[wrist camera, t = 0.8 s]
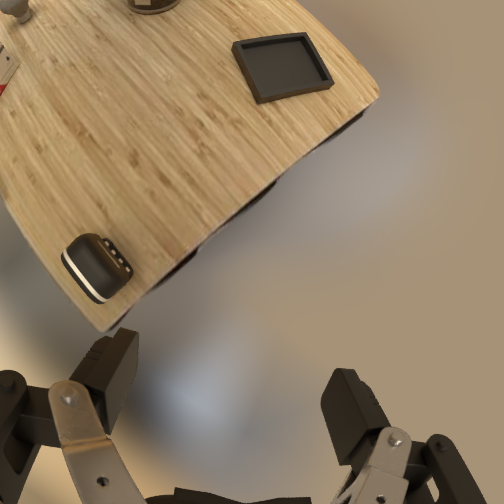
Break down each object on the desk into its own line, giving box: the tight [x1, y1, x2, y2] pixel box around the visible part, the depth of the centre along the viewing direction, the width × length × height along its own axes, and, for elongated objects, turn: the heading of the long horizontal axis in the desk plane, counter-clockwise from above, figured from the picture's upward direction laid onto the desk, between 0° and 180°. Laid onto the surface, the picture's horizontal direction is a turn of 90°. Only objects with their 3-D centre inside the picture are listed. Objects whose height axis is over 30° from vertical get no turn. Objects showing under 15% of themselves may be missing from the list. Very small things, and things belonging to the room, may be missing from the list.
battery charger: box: [61, 233, 133, 304], centre depth 30 cm, size 7×4×11 cm, turn 40°
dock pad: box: [231, 32, 335, 104], centre depth 38 cm, size 11×13×2 cm
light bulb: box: [0, 0, 31, 23], centre depth 23 cm, size 6×6×10 cm
